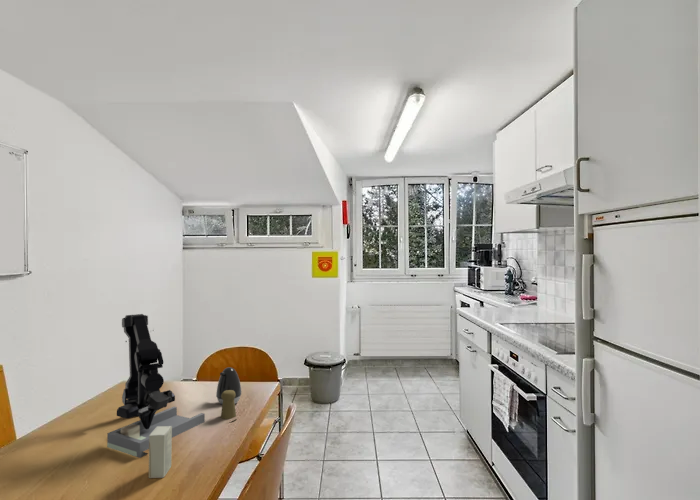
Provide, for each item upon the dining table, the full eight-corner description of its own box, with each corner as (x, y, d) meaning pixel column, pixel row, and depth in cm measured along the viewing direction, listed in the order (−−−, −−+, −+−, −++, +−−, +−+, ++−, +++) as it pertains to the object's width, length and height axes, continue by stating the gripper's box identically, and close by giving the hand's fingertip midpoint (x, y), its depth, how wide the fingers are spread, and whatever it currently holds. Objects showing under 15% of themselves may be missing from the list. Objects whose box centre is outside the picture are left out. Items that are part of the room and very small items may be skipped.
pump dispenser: (210, 406, 167) (210, 369, 167) (227, 398, 177) (227, 363, 177) (230, 409, 163) (230, 372, 163) (246, 401, 173) (246, 365, 173)
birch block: (120, 440, 133) (120, 428, 133) (131, 435, 137) (131, 423, 137) (128, 442, 131) (128, 430, 131) (139, 437, 135) (139, 425, 135)
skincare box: (156, 467, 119) (156, 425, 119) (172, 466, 119) (172, 425, 119) (147, 479, 112) (148, 435, 113) (164, 478, 113) (164, 434, 113)
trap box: (107, 447, 131) (107, 433, 131) (173, 418, 155) (173, 406, 155) (139, 457, 124) (140, 443, 124) (204, 425, 148) (204, 413, 148)
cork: (231, 423, 149) (231, 394, 150) (217, 422, 151) (217, 393, 151) (239, 417, 155) (239, 388, 155) (225, 416, 157) (225, 387, 157)
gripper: (137, 395, 128) (137, 445, 128) (185, 379, 144) (185, 423, 144) (115, 390, 133) (115, 438, 133) (164, 375, 149) (164, 417, 149)
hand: (147, 428), depth 139 cm, fingers closed
